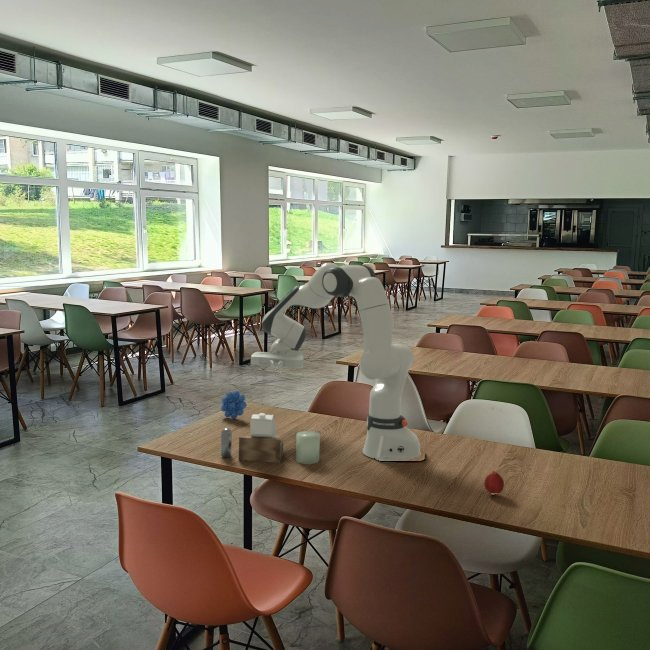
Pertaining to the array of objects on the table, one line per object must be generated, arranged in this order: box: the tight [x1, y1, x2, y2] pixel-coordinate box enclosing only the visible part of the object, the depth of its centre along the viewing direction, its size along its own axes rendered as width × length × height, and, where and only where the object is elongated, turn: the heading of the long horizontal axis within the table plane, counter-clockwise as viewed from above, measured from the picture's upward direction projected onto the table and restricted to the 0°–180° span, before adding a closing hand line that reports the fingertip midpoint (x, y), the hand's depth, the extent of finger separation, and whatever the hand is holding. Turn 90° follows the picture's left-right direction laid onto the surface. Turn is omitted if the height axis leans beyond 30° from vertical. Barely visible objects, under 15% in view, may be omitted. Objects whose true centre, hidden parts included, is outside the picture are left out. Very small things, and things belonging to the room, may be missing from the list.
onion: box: [483, 470, 505, 494], centre depth 196 cm, size 6×6×8 cm
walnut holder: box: [238, 435, 285, 463], centre depth 221 cm, size 14×9×8 cm, turn 86°
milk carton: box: [249, 412, 278, 438], centre depth 222 cm, size 7×7×19 cm
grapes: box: [220, 390, 248, 420], centre depth 264 cm, size 12×7×12 cm, turn 69°
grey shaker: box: [220, 427, 233, 459], centre depth 221 cm, size 4×4×10 cm
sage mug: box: [295, 430, 321, 465], centre depth 221 cm, size 8×11×9 cm
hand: (275, 366), depth 240 cm, fingers closed
